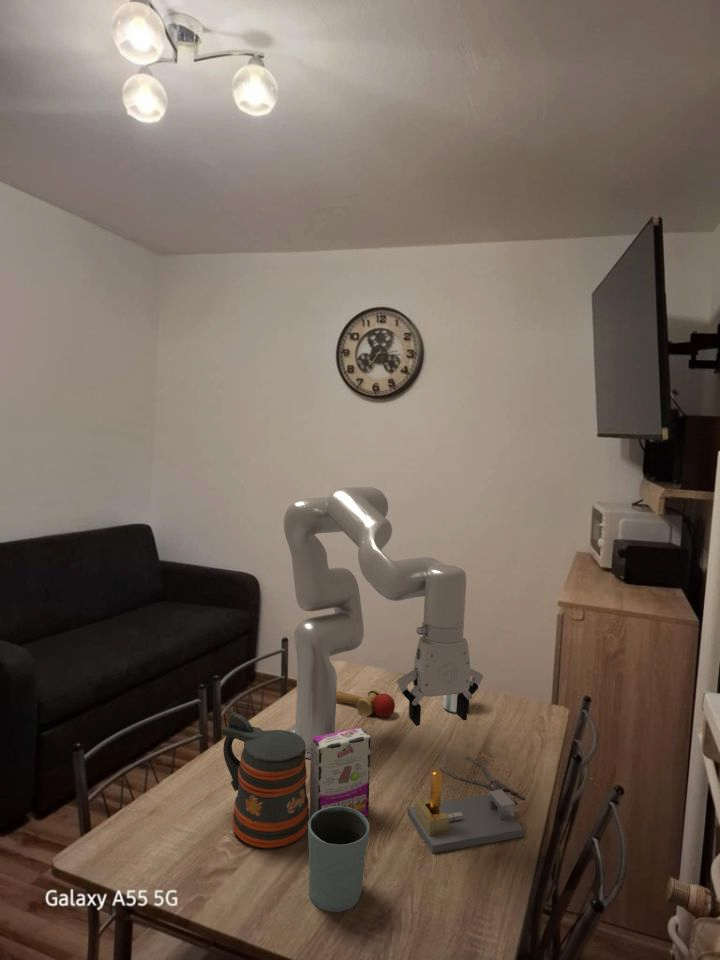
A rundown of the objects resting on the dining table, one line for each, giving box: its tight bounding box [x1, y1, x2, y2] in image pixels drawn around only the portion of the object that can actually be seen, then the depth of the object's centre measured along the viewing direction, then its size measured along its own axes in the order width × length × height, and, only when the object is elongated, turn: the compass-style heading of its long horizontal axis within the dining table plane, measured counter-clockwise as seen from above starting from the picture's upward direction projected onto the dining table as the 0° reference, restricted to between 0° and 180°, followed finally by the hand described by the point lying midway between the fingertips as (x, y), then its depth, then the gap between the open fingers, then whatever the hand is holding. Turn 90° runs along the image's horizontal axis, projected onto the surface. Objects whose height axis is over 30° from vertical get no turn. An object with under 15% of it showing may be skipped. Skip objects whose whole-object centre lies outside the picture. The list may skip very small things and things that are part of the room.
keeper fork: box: [415, 797, 450, 836], centre depth 121 cm, size 4×7×3 cm, turn 18°
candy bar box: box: [309, 726, 371, 819], centre depth 124 cm, size 11×5×16 cm, turn 117°
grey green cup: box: [307, 806, 370, 913], centre depth 103 cm, size 10×10×12 cm
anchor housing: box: [487, 790, 516, 821], centre depth 125 cm, size 3×5×3 cm, turn 18°
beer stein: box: [221, 711, 310, 849], centre depth 121 cm, size 19×15×20 cm
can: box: [442, 680, 467, 714], centre depth 175 cm, size 7×7×12 cm
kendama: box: [336, 689, 396, 718], centre depth 172 cm, size 8×6×18 cm
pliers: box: [439, 756, 526, 805], centre depth 140 cm, size 10×1×20 cm
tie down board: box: [407, 794, 525, 854], centre depth 123 cm, size 19×12×2 cm, turn 108°
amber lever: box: [429, 768, 463, 822], centre depth 121 cm, size 7×2×10 cm, turn 108°
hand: (438, 719), depth 119 cm, fingers open, 9 cm apart
